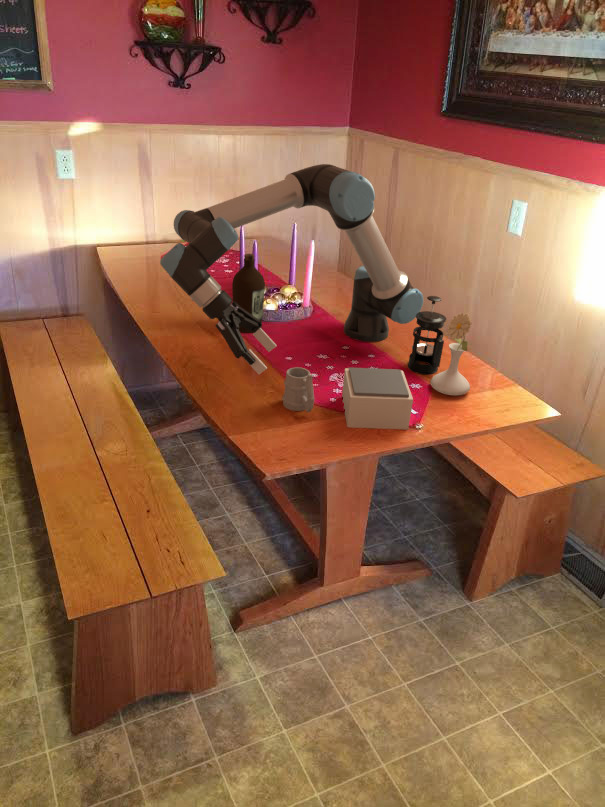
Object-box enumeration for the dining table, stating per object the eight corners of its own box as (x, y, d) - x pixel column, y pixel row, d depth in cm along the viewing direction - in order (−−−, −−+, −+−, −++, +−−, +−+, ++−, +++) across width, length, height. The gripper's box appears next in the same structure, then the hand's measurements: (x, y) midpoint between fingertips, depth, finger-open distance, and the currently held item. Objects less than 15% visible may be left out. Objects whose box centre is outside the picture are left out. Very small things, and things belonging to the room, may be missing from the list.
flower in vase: (427, 379, 199) (441, 300, 187) (465, 381, 199) (481, 303, 187) (433, 400, 188) (448, 318, 176) (473, 403, 188) (491, 321, 176)
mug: (301, 395, 186) (303, 356, 180) (323, 415, 177) (327, 375, 171) (277, 400, 182) (279, 361, 176) (298, 421, 174) (301, 381, 168)
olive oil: (225, 328, 222) (225, 255, 209) (242, 318, 230) (244, 247, 218) (252, 336, 218) (254, 262, 205) (269, 326, 226) (272, 254, 213)
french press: (399, 362, 208) (410, 293, 196) (423, 358, 212) (435, 289, 201) (423, 379, 199) (435, 307, 188) (447, 373, 203) (461, 303, 192)
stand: (341, 396, 187) (345, 365, 182) (398, 399, 188) (403, 368, 183) (347, 427, 173) (351, 394, 168) (408, 429, 174) (413, 396, 169)
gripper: (214, 290, 180) (266, 347, 186) (187, 326, 158) (247, 389, 164) (233, 273, 177) (286, 332, 183) (208, 307, 155) (269, 373, 161)
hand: (268, 359), depth 174 cm, fingers open, 13 cm apart
